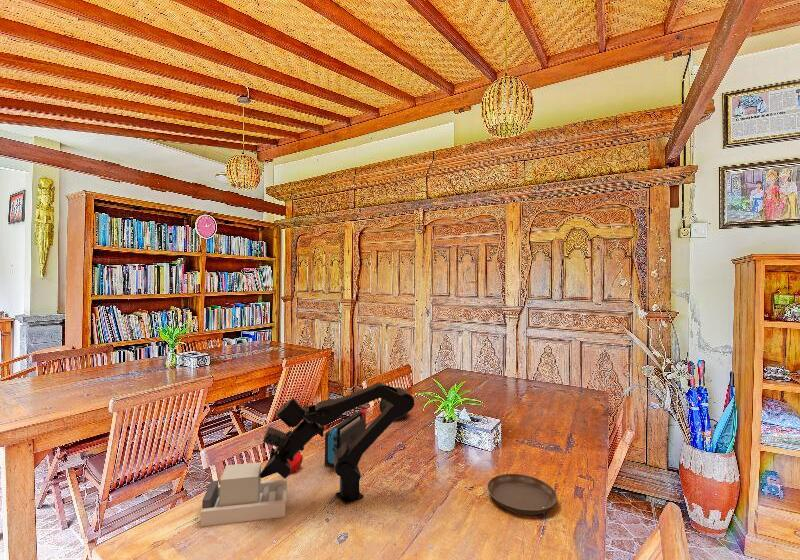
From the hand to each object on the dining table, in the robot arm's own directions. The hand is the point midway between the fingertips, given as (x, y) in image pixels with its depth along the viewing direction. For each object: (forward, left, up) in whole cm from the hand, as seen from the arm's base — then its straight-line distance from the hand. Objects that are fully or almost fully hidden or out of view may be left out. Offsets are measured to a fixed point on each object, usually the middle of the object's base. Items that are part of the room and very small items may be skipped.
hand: (260, 476), depth 120 cm
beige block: (+2, +5, -5) cm, 8 cm away
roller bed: (+2, +3, -9) cm, 10 cm away
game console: (+14, -37, -9) cm, 41 cm away
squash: (+38, -79, -9) cm, 88 cm away
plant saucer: (-44, -66, -9) cm, 80 cm away
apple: (+16, -17, -9) cm, 25 cm away
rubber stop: (+6, +12, -7) cm, 16 cm away
